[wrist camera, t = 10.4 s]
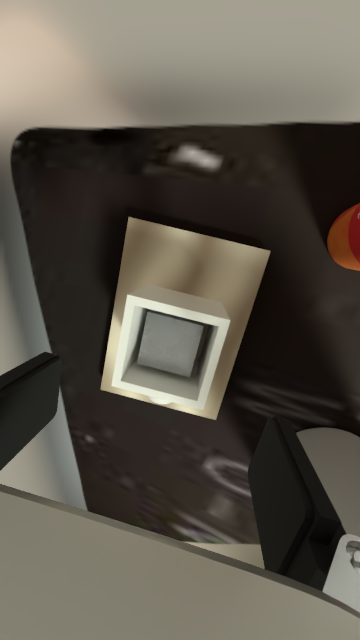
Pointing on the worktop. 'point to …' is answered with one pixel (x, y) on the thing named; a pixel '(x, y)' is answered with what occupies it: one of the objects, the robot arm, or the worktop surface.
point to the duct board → (188, 291)
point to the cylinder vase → (337, 470)
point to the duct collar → (160, 382)
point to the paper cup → (346, 239)
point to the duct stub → (170, 342)
